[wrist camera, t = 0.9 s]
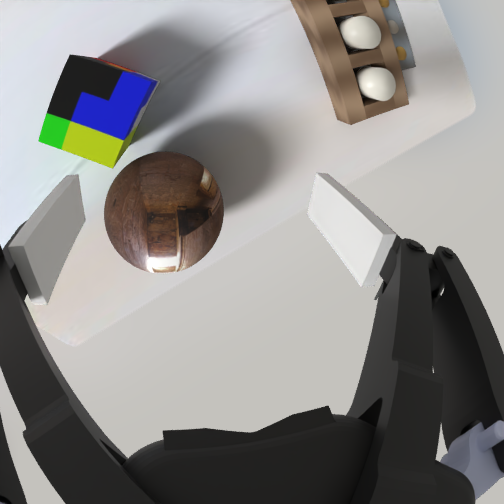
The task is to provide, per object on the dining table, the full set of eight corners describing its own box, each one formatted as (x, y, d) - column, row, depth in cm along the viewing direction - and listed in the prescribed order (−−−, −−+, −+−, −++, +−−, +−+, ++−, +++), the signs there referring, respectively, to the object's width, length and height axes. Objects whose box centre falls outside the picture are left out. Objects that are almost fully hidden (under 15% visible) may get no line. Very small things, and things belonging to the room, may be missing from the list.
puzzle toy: (160, 81, 30) (151, 82, 22) (128, 145, 34) (112, 168, 26) (97, 58, 25) (70, 54, 17) (69, 124, 29) (38, 141, 22)
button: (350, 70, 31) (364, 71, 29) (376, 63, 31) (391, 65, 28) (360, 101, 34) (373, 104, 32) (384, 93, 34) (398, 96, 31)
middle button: (332, 21, 26) (345, 18, 24) (360, 16, 26) (374, 14, 23) (344, 51, 30) (357, 51, 27) (370, 45, 29) (385, 45, 26)
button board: (274, -30, 22) (283, -39, 19) (376, -38, 21) (391, -42, 18) (337, 119, 38) (350, 124, 35) (420, 91, 37) (435, 96, 34)
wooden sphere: (137, 242, 43) (127, 310, 31) (103, 159, 34) (67, 205, 22) (225, 218, 44) (244, 280, 33) (203, 127, 35) (214, 156, 23)
